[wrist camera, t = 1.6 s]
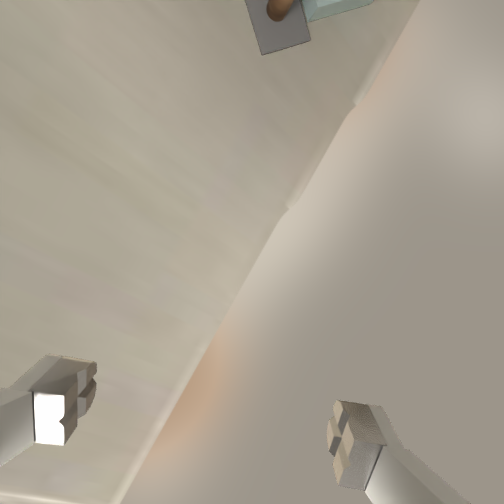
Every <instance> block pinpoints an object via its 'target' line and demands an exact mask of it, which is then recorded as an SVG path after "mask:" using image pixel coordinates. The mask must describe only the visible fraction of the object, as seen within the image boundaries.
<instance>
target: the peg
mask: <svg viewBox="0 0 504 504" xmlns="http://www.w3.org/2000/svg"><path fill="white" fill-rule="evenodd" d="M293 1H294V0H269V1H268V3H267V6H266V11H267V14H268V16H269V18H270V19H271V20H273V21H275V22H279V21H282V20H283V19H284V17H285V16H286V14H287V12H288V10H289V8H290V7H291V5H292V3H293Z"/></svg>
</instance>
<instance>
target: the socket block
mask: <svg viewBox="0 0 504 504" xmlns="http://www.w3.org/2000/svg"><path fill="white" fill-rule="evenodd" d="M373 1H374V0H302V3H303V6H304V10H305V14H306V17H307V21H308V22H310V21H314V20H317V19H321V18H324V17H328V16H331V15H335V14H338V13H341V12H345V11H348V10H352V9H355V8H359V7H362V6H366V5H369V4H371V3H372V2H373Z"/></svg>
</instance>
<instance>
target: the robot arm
mask: <svg viewBox="0 0 504 504" xmlns="http://www.w3.org/2000/svg"><path fill="white" fill-rule="evenodd" d="M96 373H97V363H96V362H94V361H89V360H83V359H78V358H73V357H67V356H60V355H55V354H48V355H45V356H44V357H43V358H41V359H40V360H39V361H38V362H37V363H36V364H35V365H34V366H33V367H32V368H30V369H29V370H28V371H27V372H26V373H25V374H24V375H23V376H22V377H20V378H19V379H18V380H17V381H16V382H15V383H14V384H13V385H12V386H10V387H9V388H1V389H0V467H1V466H2V465H4V464H5V463H7V462H8V461H10V460H11V459H13V458H14V457H16V456H17V455H19V454H20V453H21V452H23V451H24V450H26V449H27V448H29V447H30V446H32V445H33V444H34V442H37V443H46V444H55V445H65V443H66V442H67V441H68V439H69V438H70V436H71V435H72V433H73V432H74V430H75V429H76V427H77V419H78V418H80V417H81V416H83V415H85V414H86V413H87V411H88V410H89V408H90V407H91V404H92V402H93V400H94V397H95V393H96V384H97V383H96V382H95V380H94V379H93V377H94V375H95V374H96ZM333 412H334V415H335V416H333V417H332V418H331V419H329V422H328V426H327V444H328V448H329V452H330V453H331V454H332V455H333V456H334V457H335V458H334V461H333V468H334V472H335V476H336V480H337V484H338V486H342V487H347V488H353V489H359V490H364V491H365V493H366V494H367V496H368V497H369V499H370V500H371V501H372V503H373V504H471V503H469V502H468V501H467V500H466V499H465V498H464V497H463V496H461V495H460V494H459V493H458V492H457V491H456V490H455V489H453V488H452V487H451V486H450V485H449V484H448V483H447V482H445V481H444V480H443V479H442V478H441V477H440V476H439V475H437V474H436V473H435V472H434V471H433V470H432V469H431V468H429V467H428V466H427V465H426V464H425V463H424V462H423V461H421V460H420V459H419V458H418V457H417V456H416V455H415V454H413V453H412V452H411V451H410V450H407V449H404V447H403V445H402V443H401V441H400V439H399V438H398V435H397V433H396V432H395V430H394V428H393V426H392V424H391V422H390V420H389V418H388V416H387V414H386V412H385V411H384V409H383V408H382V407H381V406H377V405H370V404H360V403H354V402H347V401H340V400H337V401H336V402H335V404H334V407H333Z"/></svg>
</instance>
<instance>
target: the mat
mask: <svg viewBox="0 0 504 504" xmlns="http://www.w3.org/2000/svg"><path fill="white" fill-rule="evenodd" d="M268 1H269V0H245V2H246V5H247V8H248V12H249V15H250V18H251V21H252V25H253V28H254V31H255V34H256V38H257V41H258V44H259V47H260V50H261V54H262V55H265V54H268V53H272V52H275V51H278V50H282V49H285V48H288V47H292V46H295V45H298V44H301V43H305V42H308V41H310V36H309V32H308V29H307V25H306V21H305V18H304V14H303V10H302V7H301V3H300V0H294V1H293V3H292V5H291V7H290V8H289V10H288V12H287V14H286V16H285V17H284V19H283V20H282V21H279V22H275V21H273V20H271V19H270V18H269V16H268V14H267V11H266V6H267V3H268Z"/></svg>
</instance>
